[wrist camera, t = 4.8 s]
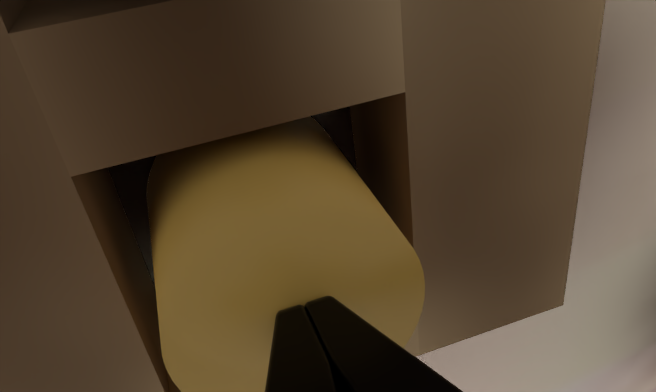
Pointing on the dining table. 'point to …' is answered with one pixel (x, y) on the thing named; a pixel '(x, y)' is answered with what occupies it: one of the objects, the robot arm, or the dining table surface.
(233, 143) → the button amber
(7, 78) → the brown button tray
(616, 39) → the dining table surface
